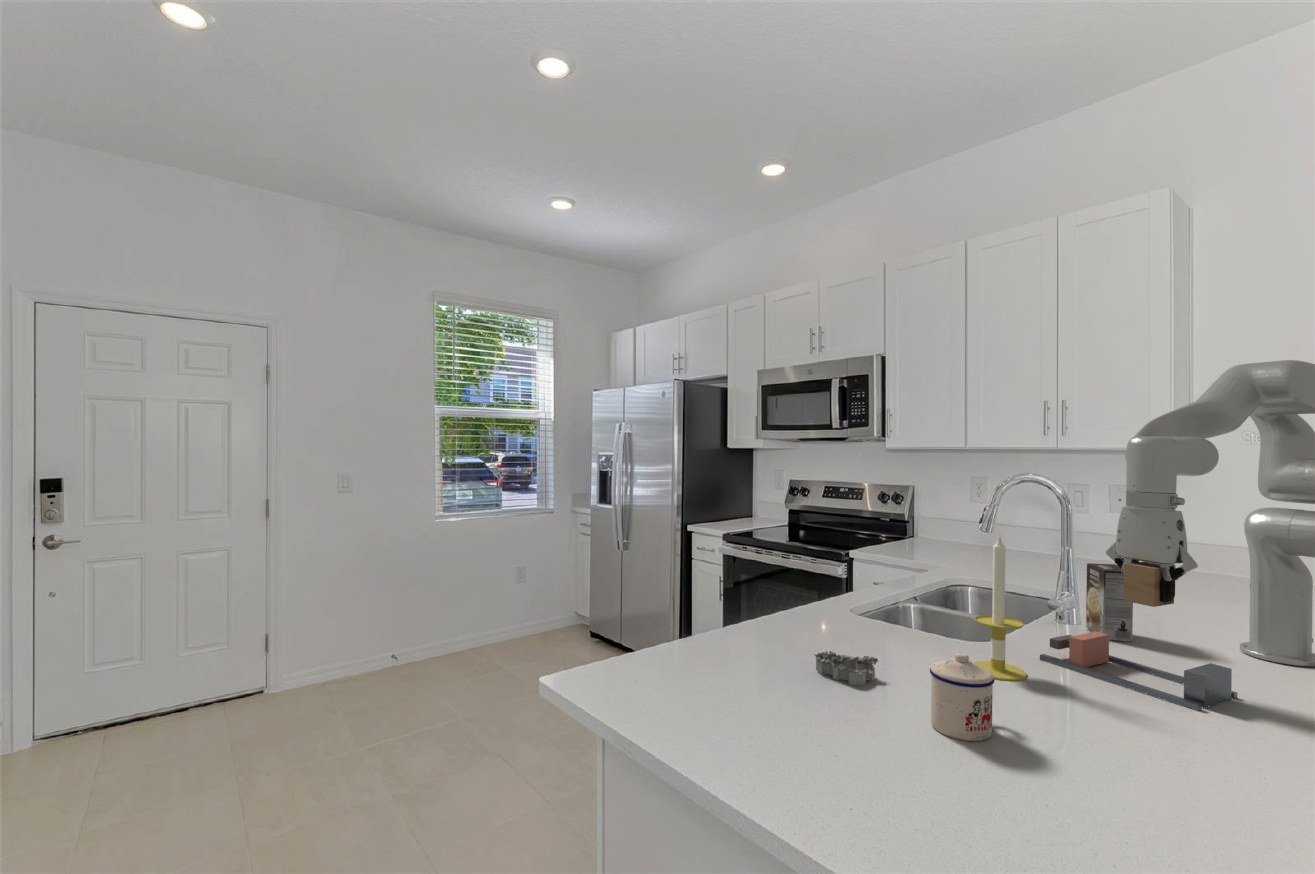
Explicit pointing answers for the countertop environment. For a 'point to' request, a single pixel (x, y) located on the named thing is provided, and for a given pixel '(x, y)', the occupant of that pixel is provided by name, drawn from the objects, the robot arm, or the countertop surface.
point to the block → (1143, 583)
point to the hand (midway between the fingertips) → (1148, 596)
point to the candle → (999, 623)
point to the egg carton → (846, 667)
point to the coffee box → (1108, 602)
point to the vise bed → (1199, 682)
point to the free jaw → (1084, 648)
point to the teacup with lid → (961, 699)
